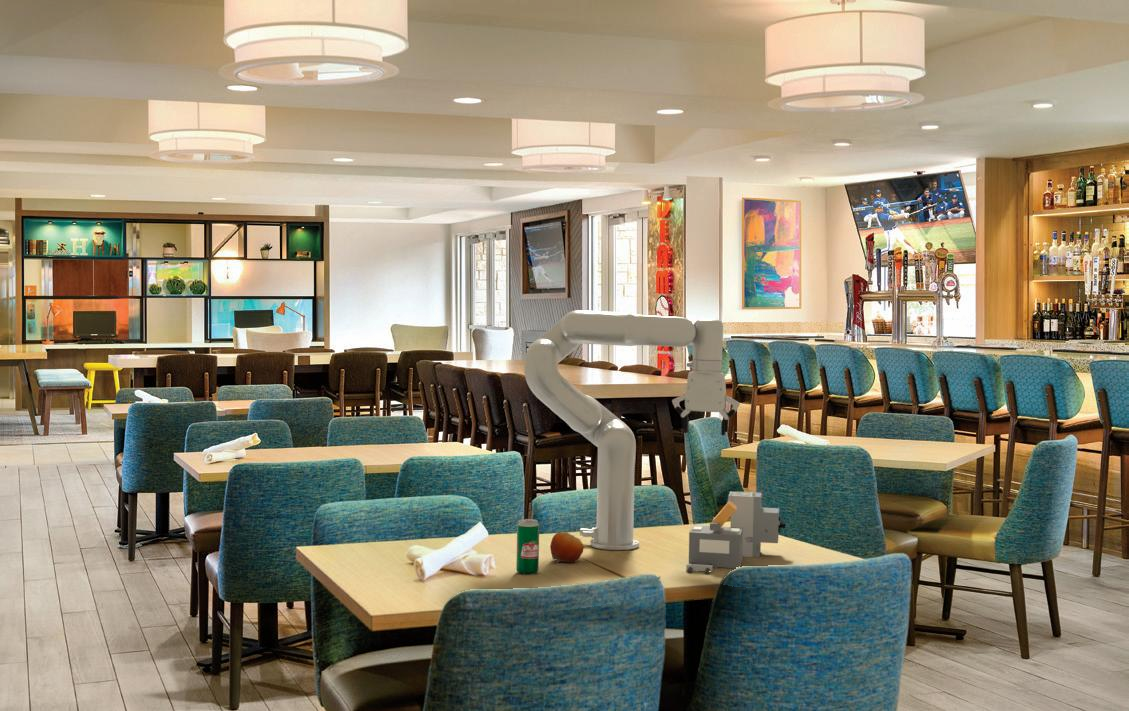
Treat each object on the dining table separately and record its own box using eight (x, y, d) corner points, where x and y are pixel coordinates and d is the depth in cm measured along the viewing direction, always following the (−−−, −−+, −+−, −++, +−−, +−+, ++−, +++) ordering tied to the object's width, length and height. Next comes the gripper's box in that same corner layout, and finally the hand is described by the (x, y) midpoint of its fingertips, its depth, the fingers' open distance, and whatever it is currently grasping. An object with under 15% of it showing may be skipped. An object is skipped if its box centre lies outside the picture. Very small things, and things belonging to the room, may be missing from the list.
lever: (709, 525, 279) (728, 503, 278) (711, 520, 285) (729, 500, 284) (717, 531, 279) (735, 510, 278) (719, 527, 284) (737, 506, 283)
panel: (688, 566, 278) (689, 522, 278) (692, 557, 288) (693, 515, 288) (739, 569, 276) (740, 525, 275) (742, 560, 286) (743, 518, 285)
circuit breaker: (784, 558, 289) (785, 498, 288) (726, 555, 291) (727, 495, 291) (784, 552, 296) (786, 493, 296) (728, 549, 299) (729, 491, 298)
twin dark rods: (684, 572, 270) (685, 566, 270) (688, 565, 278) (688, 560, 278) (711, 574, 269) (711, 568, 269) (713, 567, 277) (714, 561, 277)
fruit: (537, 553, 283) (553, 524, 284) (563, 568, 285) (579, 539, 287) (550, 560, 275) (567, 530, 277) (576, 575, 278) (592, 545, 279)
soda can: (521, 575, 265) (521, 522, 264) (513, 571, 269) (513, 519, 269) (541, 574, 267) (542, 521, 266) (533, 569, 271) (534, 518, 271)
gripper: (671, 366, 299) (668, 433, 299) (739, 369, 294) (736, 437, 295) (676, 365, 306) (673, 430, 306) (742, 368, 301) (740, 434, 302)
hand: (704, 433), depth 300 cm, fingers open, 9 cm apart
